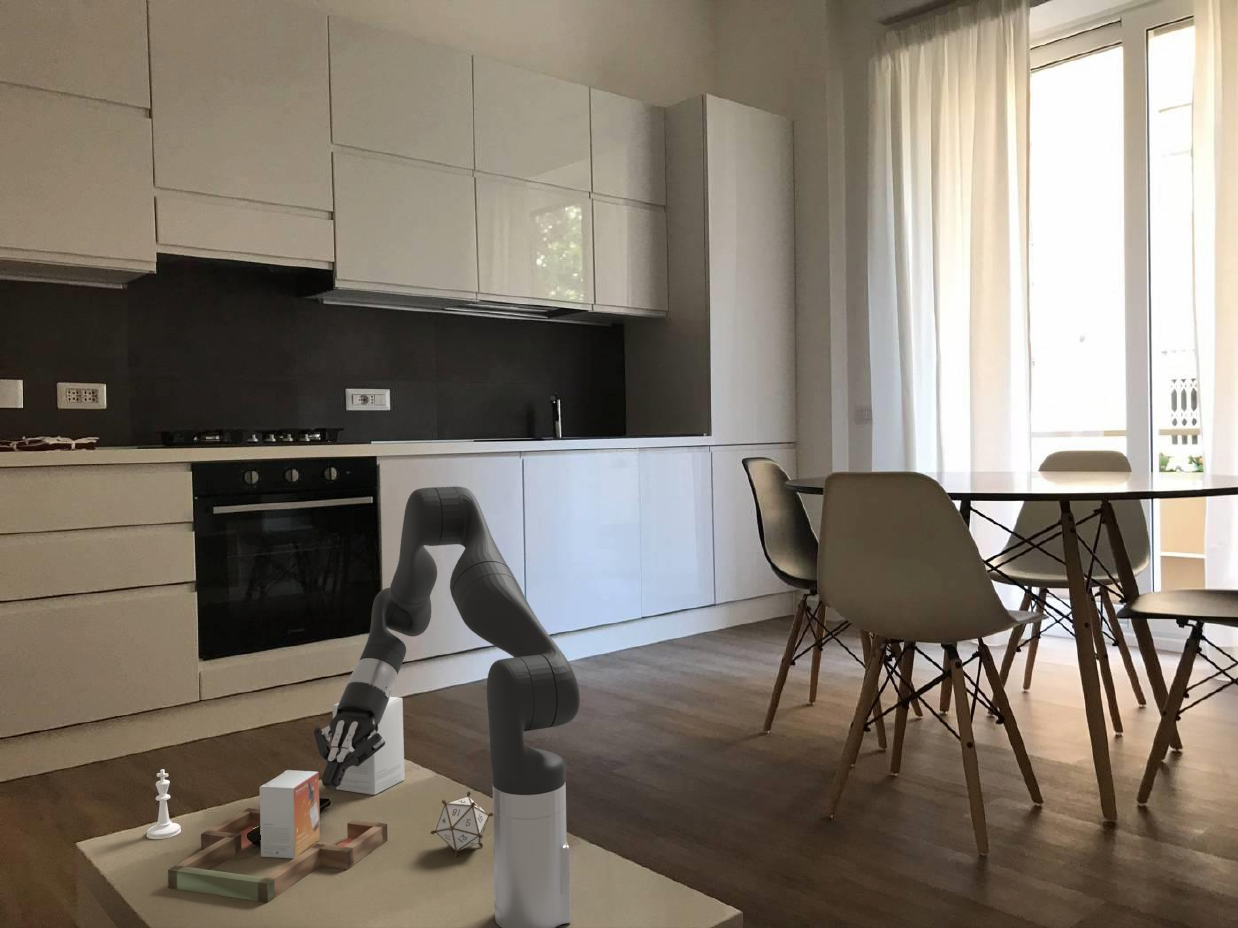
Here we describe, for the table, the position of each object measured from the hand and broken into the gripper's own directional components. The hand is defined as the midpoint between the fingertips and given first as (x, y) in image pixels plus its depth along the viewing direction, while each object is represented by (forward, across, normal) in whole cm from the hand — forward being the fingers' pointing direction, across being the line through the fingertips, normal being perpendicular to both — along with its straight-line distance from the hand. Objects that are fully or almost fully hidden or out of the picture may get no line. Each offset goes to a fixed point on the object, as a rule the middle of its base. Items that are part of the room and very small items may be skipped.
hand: (328, 786), depth 163 cm
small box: (+11, 0, -3) cm, 12 cm away
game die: (+7, +25, +2) cm, 26 cm away
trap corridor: (+15, 0, -7) cm, 16 cm away
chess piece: (+12, -23, -3) cm, 26 cm away
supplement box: (-8, -4, +17) cm, 19 cm away
